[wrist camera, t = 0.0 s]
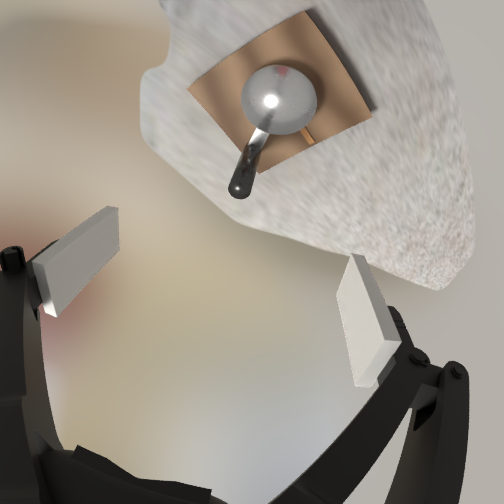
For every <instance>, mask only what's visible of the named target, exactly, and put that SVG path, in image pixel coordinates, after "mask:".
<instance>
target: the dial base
mask: <svg viewBox="0 0 504 504" xmlns="http://www.w3.org/2000/svg"><path fill="white" fill-rule="evenodd" d="M272 64H284V65H289V66H292V67H295V68H297V69H299V70H300V71H302V72H303V73H304V74H305V75H306V76H307V77H308V78H309V79H310V80H311V82H312V84H313V86H314V88H315V92H316V96H317V107H316V112H315V114H314V116H313V118H312V120H311V121H310V122H309V123H308V124H307V125H306V126H305V127H304V128H302V129H301V130H299V131H297V132H295V133H291V134H287V135H275V134H269V136H268V138H267V140H266V142H265V144H264V145H263V147H262V153H261V156H260V160H259V164H258V167H257V172H258V173H259V174H260V173H262V172H264V171H266V170H267V169H269V168H271V167H273V166H275V165H277V164H279V163H280V162H282V161H284V160H286V159H288V158H290V157H292V156H294V155H296V154H298V153H299V152H301V151H303V150H305V149H307V148H309V147H311V146H313V145H315V144H317V143H319V142H321V141H323V140H325V139H327V138H329V137H331V136H333V135H335V134H337V133H340V132H342V131H344V130H346V129H348V128H350V127H352V126H354V125H356V124H358V123H361V122H363V121H365V120H367V119H369V118H372V115H371V113H370V111H369V109H368V107H367V105H366V104H365V102H364V100H363V98H362V96H361V95H360V93H359V91H358V89H357V88H356V86H355V84H354V83H353V81H352V79H351V78H350V76H349V74H348V73H347V71H346V69H345V68H344V66H343V65H342V63H341V61H340V60H339V58H338V57H337V55H336V54H335V52H334V51H333V49H332V48H331V46H330V45H329V44H328V42H327V41H326V39H325V38H324V36H323V35H322V34H321V32H320V31H319V29H318V28H317V27H316V25H315V24H314V23H313V21H312V20H311V19H310V18H309V16H308V15H307V14H306V12H305V11H302V12H300V13H299V14H297V15H295V16H293V17H291V18H289V19H288V20H286V21H284V22H282V23H281V24H279V25H277V26H275V27H274V28H272V29H270V30H269V31H267V32H265V33H264V34H262V35H261V36H259V37H257V38H256V39H254V40H253V41H251V42H250V43H248V44H247V45H245V46H244V47H242V48H241V49H239V50H238V51H236V52H235V53H233V54H232V55H230V56H229V57H228V58H226V59H225V60H223V61H222V62H221V63H219V64H218V65H217V66H215V67H214V68H212V69H211V70H210V71H209V72H207V73H206V74H205V75H203V76H202V77H201V78H199V79H198V80H197V81H196V82H194V83H193V84H192V85H191V86H190V87H188V88H187V90H188V91H189V92H190V93H191V94H192V95H193V96H194V98H195V99H196V100H197V101H198V102H199V103H200V104H201V105H202V107H203V108H204V109H205V110H206V111H207V112H208V113H209V115H210V116H211V117H212V118H213V119H214V120H215V122H216V123H217V124H218V125H219V126H220V127H221V129H222V130H223V131H224V132H225V133H226V134H227V136H228V137H229V138H230V139H231V140H232V142H233V143H234V144H235V145H236V146H237V148H238V149H239V150H240V151H241V152H242V151H243V149H244V147H245V145H246V143H248V142H249V141H250V139H251V137H252V135H253V133H254V131H255V129H256V127H255V126H254V125H253V124H252V123H251V122H250V121H249V120H248V119H247V117H246V116H245V114H244V112H243V109H242V106H241V93H242V89H243V86H244V85H245V83H246V81H247V80H248V79H249V77H250V76H251V75H252V74H253V73H254V72H256V71H257V70H258V69H260V68H262V67H265V66H268V65H272Z"/></svg>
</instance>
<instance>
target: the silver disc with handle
mask: <svg viewBox="0 0 504 504" xmlns="http://www.w3.org/2000/svg"><path fill="white" fill-rule="evenodd" d="M241 106H242V109H243V112H244V114H245V116H246V117H247V119H248V120H249V121H250V122H251V123H252V124H253V125H254V126H255V127H256V129H255V131H254V133H253V135H252V137H251V139H250V141H249V142H248V143H246V145H245V147H244V149H243V151H242V154H241V156H240V159H239V161H238V164H237V166H236V169H235V171H234V174H233V176H232V179H231V182H230V184H229V187H228V191H229V193H230V195H231V196H233V197H234V198H236V199H245V198H247V197H248V196H249V195H250V193H251V189H252V185H253V182H254V178H255V174H256V171H257V167H258V164H259V160H260V156H261V153H262V147H263V145H264V144H265V142H266V140H267V138H268V136H269V134H275V135H287V134H291V133H295V132H297V131H299V130H301V129H302V128H304V127H305V126H306V125H307V124H308V123H309V122H310V121H311V120H312V118H313V116H314V114H315V112H316V107H317V96H316V92H315V88H314V86H313V84H312V82H311V80H310V79H309V78H308V77H307V76H306V75H305V74H304V73H303V72H302V71H300V70H299V69H297V68H295V67H292V66H289V65H284V64H272V65H268V66H265V67H262V68H260V69H258V70H257V71H256V72H254V73H253V74H252V75H251V76H250V77H249V79H248V80H247V81H246V83H245V85H244V86H243V89H242V93H241Z"/></svg>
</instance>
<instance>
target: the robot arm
mask: <svg viewBox="0 0 504 504" xmlns="http://www.w3.org/2000/svg"><path fill="white" fill-rule="evenodd" d="M118 251H119V226H118V208H116V207H110V206H106V207H105V208H103V209H102V210H100V211H99V212H97V213H96V214H94V215H93V216H91V217H90V218H89V219H87V220H86V221H84V222H83V223H81V224H80V225H79V226H77V227H76V228H75V229H73V230H72V231H70V232H69V233H67V234H66V235H65V236H63V237H62V238H61V239H58V240H56V241H54V242H52V243H51V244H49V245H48V246H46V248H44V249H43V250H41V252H39V253H37V254H36V255H35V256H34V257H33V258H31V259H30V260H29V261H27V262H26V261H25V257H24V253H23V248H21V247H20V246H11V247H7V248H5V249H4V250H2V251H1V252H0V264H1V268H2V271H0V504H227V503H226V502H224V501H222V500H221V499H218V498H216V497H214V496H212V495H211V489H206V488H202V487H197V486H193V485H188V484H184V483H180V482H176V481H160V480H149V479H139V478H136V477H134V476H133V475H131V474H130V473H128V472H126V471H125V470H123V469H122V468H120V467H119V466H117V465H116V464H114V463H113V462H111V461H110V460H108V459H107V458H105V457H103V456H101V455H98V454H96V453H94V452H91V451H89V450H87V449H85V448H83V447H81V446H79V445H77V447H76V449H75V451H72V450H64V449H63V447H62V445H61V443H60V441H59V439H58V436H57V433H56V430H55V425H54V421H53V417H52V412H51V407H50V402H49V397H48V391H47V384H46V378H45V370H44V362H43V353H42V343H41V328H40V312H39V309H38V307H39V305H40V304H41V303H43V306H44V309H45V312H46V313H48V314H50V315H52V316H55V317H58V316H59V315H60V313H61V312H62V311H63V310H64V309H65V308H66V307H67V305H68V304H69V303H70V302H71V301H72V300H73V299H74V298H75V296H76V295H77V294H78V293H79V292H80V291H81V290H82V289H83V288H84V287H85V286H86V284H87V283H88V282H89V281H90V280H91V279H92V278H93V277H94V276H95V275H96V274H97V273H98V272H99V271H100V270H101V268H103V266H104V265H105V264H106V263H107V262H108V261H109V260H110V259H111V258H112V257H113V256H114V255H115V254H116V253H117V252H118ZM336 296H337V301H338V305H339V310H340V314H341V318H342V323H343V328H344V333H345V337H346V342H347V347H348V352H349V357H350V363H351V368H352V374H353V379H354V385H355V386H357V387H371V386H372V385H373V384H374V382H375V381H376V380H377V379H378V383H379V387H378V389H377V390H376V391H375V392H374V393H373V395H372V396H371V397H370V399H369V400H368V401H367V403H366V404H365V405H364V407H363V408H362V409H361V410H360V412H359V413H358V414H357V415H356V416H355V418H354V419H353V420H352V421H351V423H350V424H349V425H348V426H347V427H346V428H345V429H344V431H343V432H342V433H341V434H340V435H339V436H338V437H337V439H336V440H335V441H334V442H333V443H332V444H331V445H330V446H329V447H328V448H327V449H326V451H324V452H323V454H322V455H321V456H320V457H319V458H318V459H317V460H316V461H315V462H314V463H313V464H312V465H311V466H310V467H309V468H308V469H307V470H306V471H305V472H304V473H302V474H301V475H300V476H299V477H298V478H297V479H296V480H295V481H294V482H293V483H292V484H291V485H289V486H288V488H286V489H285V490H284V491H283V492H281V493H280V494H279V495H278V496H277V497H276V498H274V499H273V500H272V501H271V502H270V503H268V504H343V502H344V501H345V500H346V499H347V498H348V497H349V495H350V494H351V493H352V492H353V490H354V489H355V488H356V487H357V485H358V484H359V483H360V482H361V480H362V479H363V478H364V476H365V475H366V474H367V473H368V471H369V470H370V468H371V467H372V466H373V464H374V463H375V462H376V460H377V459H378V457H379V456H380V454H381V453H382V451H383V449H384V448H385V447H386V445H387V444H388V442H389V441H390V439H391V438H392V436H393V434H394V433H395V431H396V429H397V428H398V426H399V425H400V423H401V421H402V419H403V418H404V416H405V414H406V413H407V411H408V409H409V408H412V414H411V419H410V423H409V427H408V431H407V435H406V439H405V443H404V446H403V450H402V454H401V457H400V460H399V464H398V467H397V470H396V474H395V476H394V479H393V482H392V485H391V488H390V491H389V493H388V496H387V498H386V501H385V504H458V503H459V499H460V493H461V488H462V483H463V477H464V470H465V462H466V454H467V443H468V429H469V375H468V372H467V370H466V369H465V367H464V366H463V365H462V364H460V363H458V362H455V361H449V362H448V363H447V364H446V365H445V366H444V367H443V368H441V367H438V366H434V365H432V364H430V360H429V358H428V356H427V355H426V354H425V353H424V352H423V351H422V350H420V349H418V348H415V347H414V345H413V342H412V340H411V338H410V335H409V333H408V331H407V329H406V326H405V324H404V323H403V319H402V317H401V315H400V313H399V312H398V311H397V310H396V309H395V308H394V307H392V306H387V305H386V302H385V300H384V298H383V295H382V293H381V291H380V289H379V286H378V284H377V282H376V280H375V278H374V276H373V273H372V271H371V269H370V267H369V265H368V263H367V261H366V259H365V257H364V256H362V255H357V254H353V253H351V256H350V259H349V262H348V264H347V267H346V270H345V272H344V275H343V278H342V281H341V284H340V286H339V288H338V291H337V294H336Z"/></svg>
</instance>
